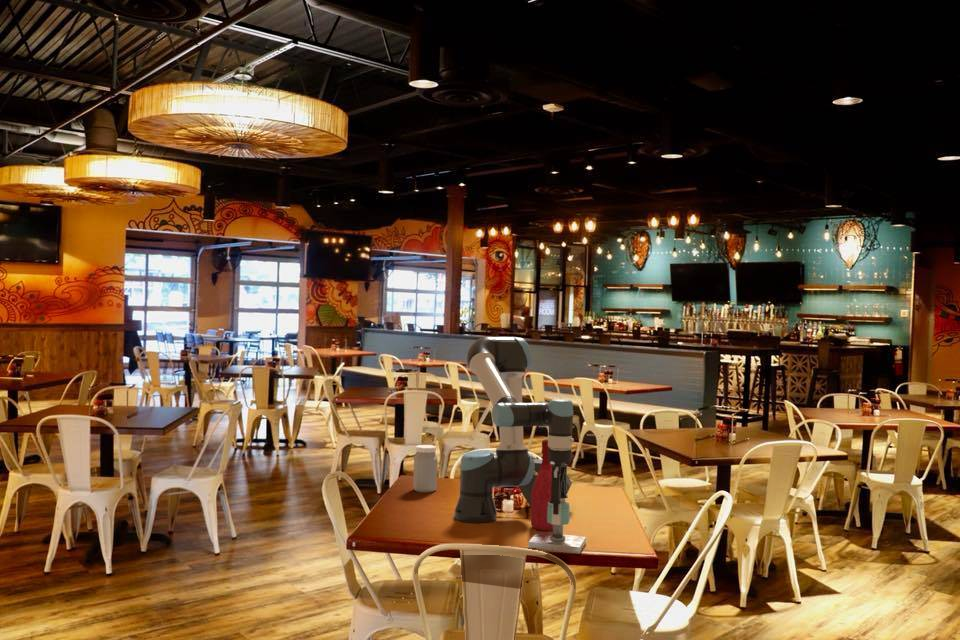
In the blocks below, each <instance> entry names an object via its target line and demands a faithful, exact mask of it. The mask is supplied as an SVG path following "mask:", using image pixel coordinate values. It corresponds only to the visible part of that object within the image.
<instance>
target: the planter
mask: <svg viewBox="0 0 960 640" xmlns="http://www.w3.org/2000/svg"><path fill="white" fill-rule="evenodd" d="M533 460H534V463H535V468H534V474H533V477H532V479H531V481H530V482H529V483H528V484H527V485H523V486H518V487H517V488H518V489H519V492H521V494H522V496H523V497H524V499H525V501H526V502H527V505H528V506H529V507H530V508H531V494H532V489H533V486H534V483H535V481H536V478H537V476H538V474H539V472H540V469H541V464H542V459H535V458H533ZM550 463H551V467H552V468H553V467H554V462H551V461H550ZM535 473H537V474H535ZM572 484H573V482H572V481H571V478H570V477H569V475H568V474H567V494H566V495H568V493H569V490H570V488H571V486H572ZM564 499H565V500H566V498H564Z"/></svg>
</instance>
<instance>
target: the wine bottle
mask: <svg viewBox="0 0 960 640" xmlns="http://www.w3.org/2000/svg"><path fill="white" fill-rule="evenodd" d="M548 449H549V447H548V439H543V440H542V442H541V454H542V455H541V456H542V459H541V460H542V464H541V469H540V472H539V474H538V473H537V475H538V476H537V478H536V481H535V483H534V486H533V489H532V494H531V507H530V524H531V527H532V528H533V529H535V530H538V531H542V532H543V531H545V532H546V531H553V524H550V523H548V522H547V508H548V502H549V501H551V485H552V473H551V472H552V467H551V463H550V461H549V460H548Z"/></svg>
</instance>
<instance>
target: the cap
mask: <svg viewBox="0 0 960 640" xmlns="http://www.w3.org/2000/svg"><path fill="white" fill-rule="evenodd" d="M560 504H561V525H563V526H566V525H569V524H570V515H571V513H570V511H571V510H570V509H571V507H570V503H569V502H567V501H565V502H564V501H560ZM547 522H548V523H550V524H552V503H549V502H548V508H547ZM553 525H555V524H553Z"/></svg>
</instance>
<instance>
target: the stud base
mask: <svg viewBox="0 0 960 640" xmlns="http://www.w3.org/2000/svg"><path fill="white" fill-rule="evenodd" d="M586 540H587V537H586V536H581V535H569V534H564V525H553V530H552V532H543V531H541V532H540V531H536V532H535V533H534V535H533V536H532V537H531V538H530V540H529V541H528V549H532V548H536V549H535V550H542V551H543V550H544V551H550V550H551V552H561V553H562V552H563V553H568V554H570V553H571V554H581V553H582V550H583V549H582V548H584V547H585V545H586V543H587V542H586ZM552 550H553V551H552Z"/></svg>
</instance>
